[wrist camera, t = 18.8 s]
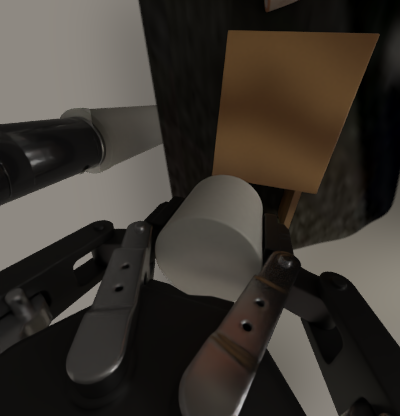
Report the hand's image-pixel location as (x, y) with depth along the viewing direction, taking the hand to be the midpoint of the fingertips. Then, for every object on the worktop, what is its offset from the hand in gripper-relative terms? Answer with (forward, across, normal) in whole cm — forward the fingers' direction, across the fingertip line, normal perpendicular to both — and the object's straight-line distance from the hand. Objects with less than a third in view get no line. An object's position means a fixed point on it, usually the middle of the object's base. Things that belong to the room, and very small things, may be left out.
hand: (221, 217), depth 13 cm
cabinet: (+23, -3, -5) cm, 23 cm away
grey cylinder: (+1, 0, 0) cm, 1 cm away
